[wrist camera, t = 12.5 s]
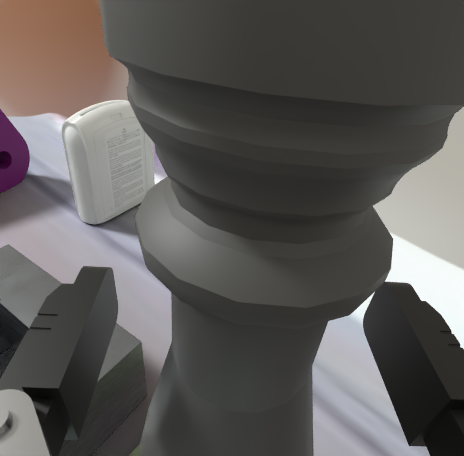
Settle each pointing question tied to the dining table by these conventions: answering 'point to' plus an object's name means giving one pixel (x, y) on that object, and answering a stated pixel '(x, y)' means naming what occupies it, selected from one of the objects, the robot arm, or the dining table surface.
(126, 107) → the photo printer
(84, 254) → the dining table surface
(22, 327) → the socket block
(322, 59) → the candle holder
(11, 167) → the mounting bracket
